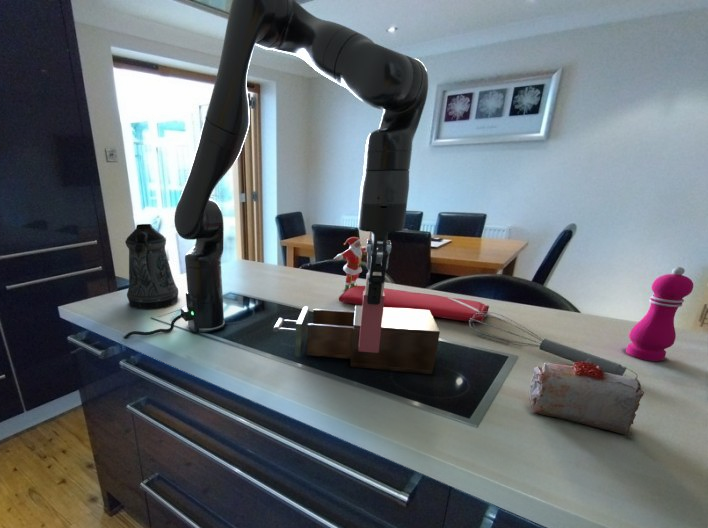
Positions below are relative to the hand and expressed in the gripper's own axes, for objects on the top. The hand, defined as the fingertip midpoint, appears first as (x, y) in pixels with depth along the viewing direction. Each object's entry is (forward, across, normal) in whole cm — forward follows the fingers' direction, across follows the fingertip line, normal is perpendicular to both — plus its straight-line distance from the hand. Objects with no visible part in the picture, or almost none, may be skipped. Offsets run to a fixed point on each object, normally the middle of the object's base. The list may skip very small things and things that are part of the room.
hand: (373, 300), depth 71 cm
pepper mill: (+18, -27, +61) cm, 69 cm away
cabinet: (+17, -14, +5) cm, 23 cm away
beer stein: (+17, -40, -67) cm, 80 cm away
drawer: (+16, -14, -10) cm, 24 cm away
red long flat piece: (+17, -52, +14) cm, 57 cm away
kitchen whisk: (+18, -24, +39) cm, 49 cm away
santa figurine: (+17, -69, -5) cm, 71 cm away
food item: (+18, +4, +34) cm, 39 cm away
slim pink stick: (+10, 0, 0) cm, 10 cm away
